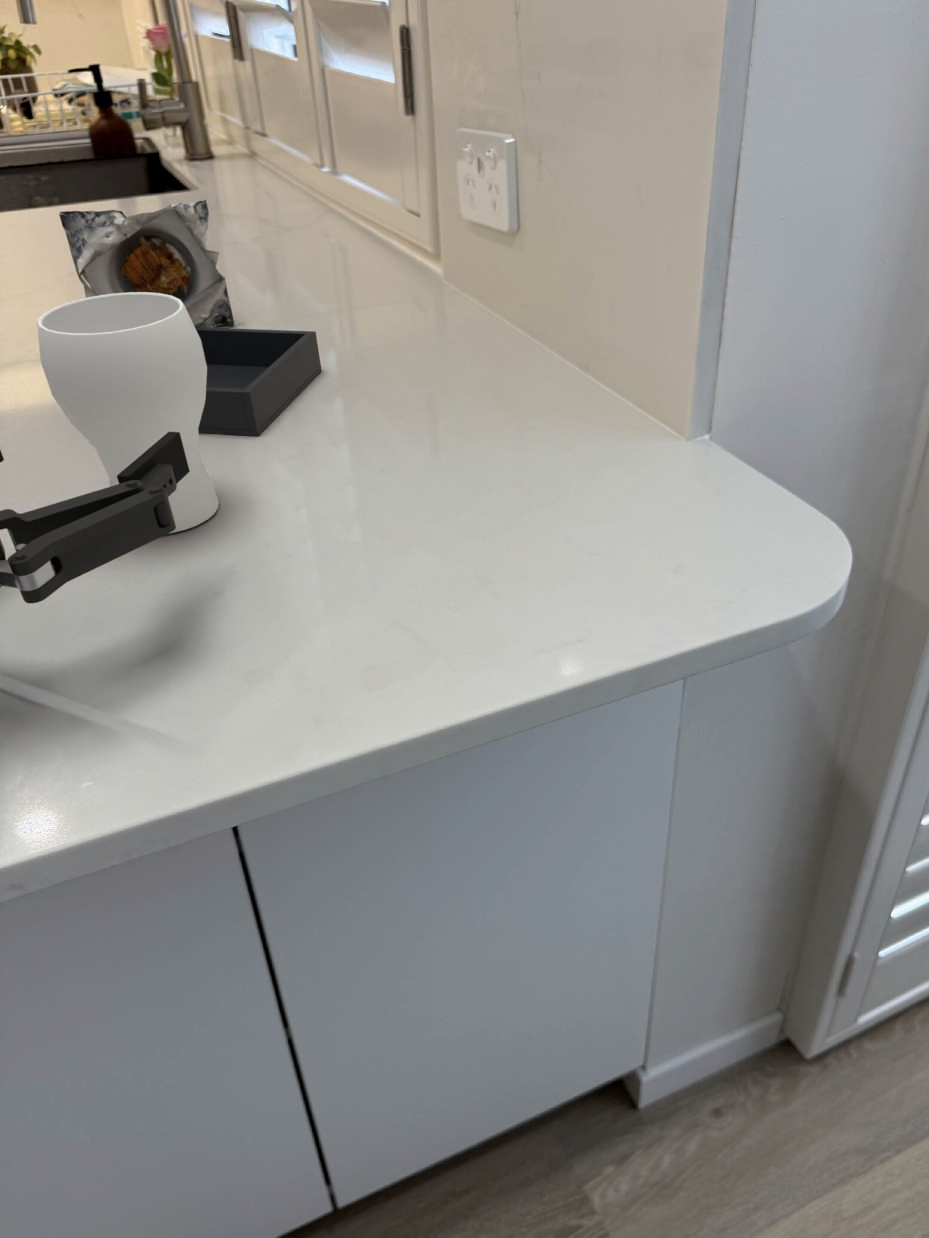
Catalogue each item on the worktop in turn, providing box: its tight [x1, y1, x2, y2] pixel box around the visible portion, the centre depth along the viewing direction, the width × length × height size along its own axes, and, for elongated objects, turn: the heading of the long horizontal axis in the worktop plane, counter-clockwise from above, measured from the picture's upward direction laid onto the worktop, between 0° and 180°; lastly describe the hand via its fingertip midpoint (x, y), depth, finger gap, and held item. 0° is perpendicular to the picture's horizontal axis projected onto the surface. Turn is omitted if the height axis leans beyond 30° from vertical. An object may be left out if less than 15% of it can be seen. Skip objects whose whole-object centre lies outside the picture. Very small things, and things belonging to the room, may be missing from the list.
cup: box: [36, 292, 220, 535], centre depth 68 cm, size 11×11×15 cm
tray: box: [195, 327, 322, 437], centre depth 90 cm, size 17×17×4 cm
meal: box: [58, 198, 235, 328], centre depth 104 cm, size 15×4×13 cm, turn 115°
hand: (84, 445), depth 62 cm, fingers open, 13 cm apart
